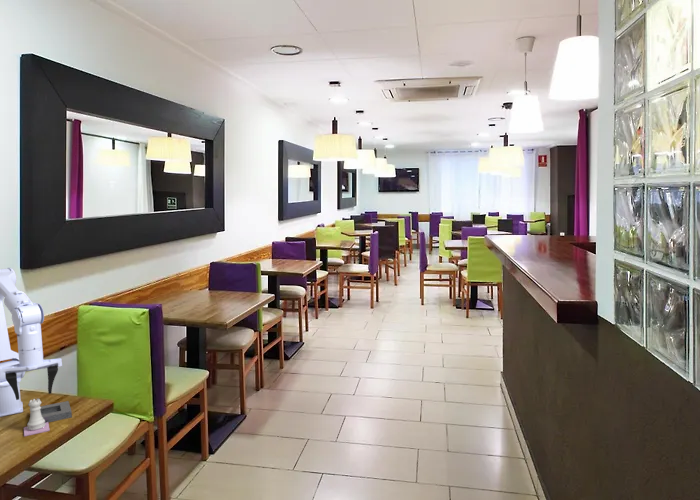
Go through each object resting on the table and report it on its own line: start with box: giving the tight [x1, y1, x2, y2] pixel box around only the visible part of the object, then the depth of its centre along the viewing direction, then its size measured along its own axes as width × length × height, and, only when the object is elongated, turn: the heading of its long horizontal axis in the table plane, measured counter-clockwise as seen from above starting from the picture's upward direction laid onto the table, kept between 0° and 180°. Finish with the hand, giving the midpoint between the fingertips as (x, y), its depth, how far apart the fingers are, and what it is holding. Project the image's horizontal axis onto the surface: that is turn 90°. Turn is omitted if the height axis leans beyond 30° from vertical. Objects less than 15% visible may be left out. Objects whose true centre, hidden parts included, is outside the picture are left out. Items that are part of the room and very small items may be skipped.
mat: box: [23, 422, 50, 437], centre depth 144 cm, size 6×6×1 cm
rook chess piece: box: [26, 398, 46, 431], centre depth 144 cm, size 4×4×8 cm
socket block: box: [40, 400, 73, 423], centre depth 153 cm, size 10×10×2 cm
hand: (34, 395), depth 143 cm, fingers open, 7 cm apart
